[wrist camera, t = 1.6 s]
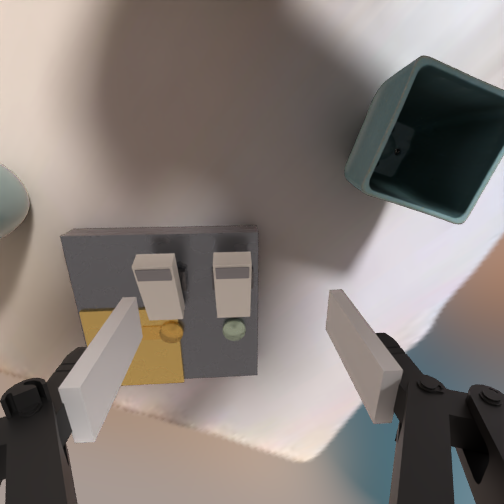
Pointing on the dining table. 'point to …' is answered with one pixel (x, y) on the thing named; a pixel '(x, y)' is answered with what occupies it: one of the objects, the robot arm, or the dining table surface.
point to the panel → (193, 289)
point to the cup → (11, 201)
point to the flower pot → (430, 140)
